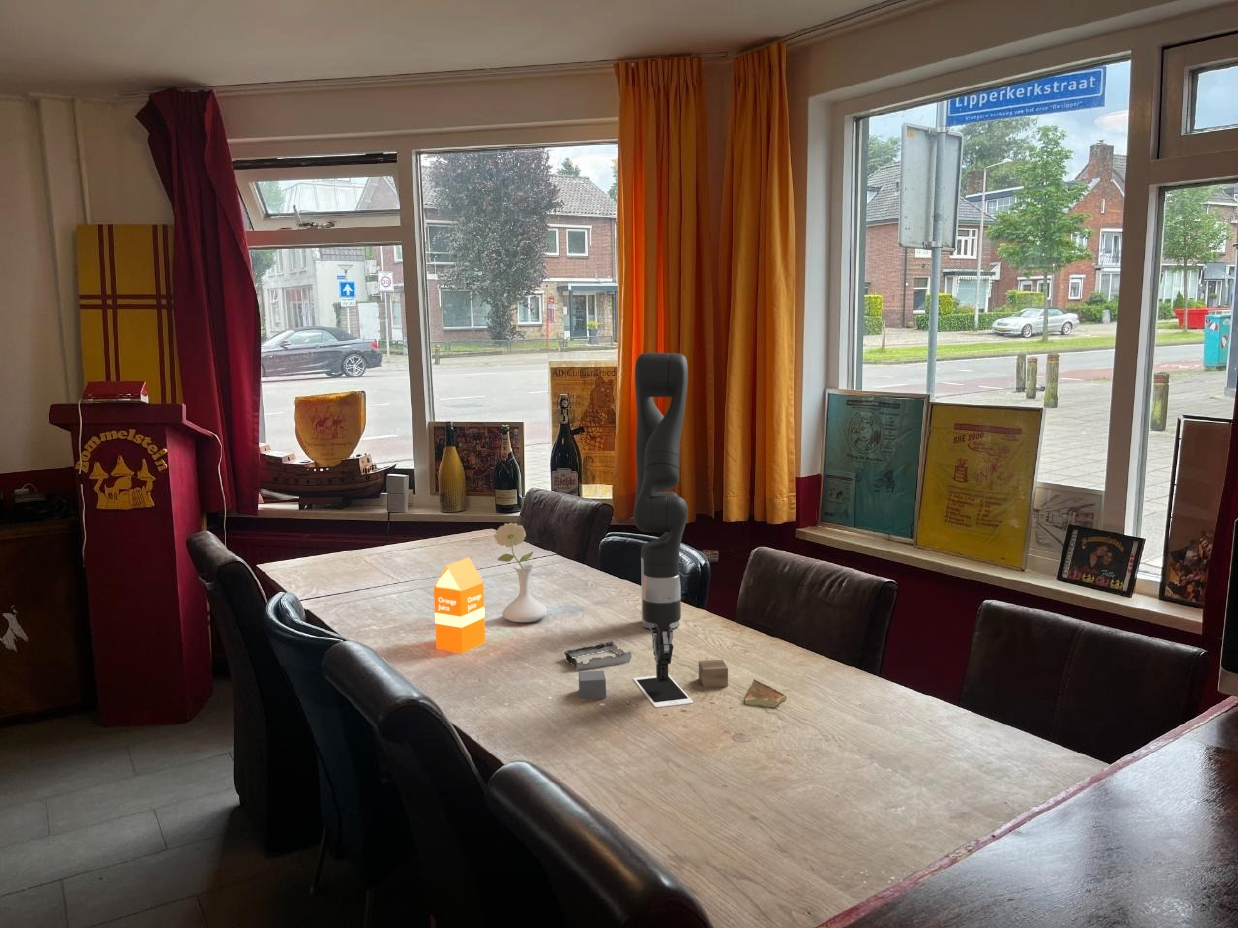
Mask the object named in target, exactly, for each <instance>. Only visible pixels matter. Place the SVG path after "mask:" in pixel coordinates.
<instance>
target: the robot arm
mask: <svg viewBox="0 0 1238 928" xmlns="http://www.w3.org/2000/svg"><path fill="white" fill-rule="evenodd" d="M688 380H689V365H688V361H687V357H686V356H685V355H684V354H682V353H674V352H673V353H671V352H670V353H669V352H644V353H641V354H640V355H638V356H637V358H636V361H635V365H634V385H635V387H634V388H635V389H634V390H635V401H636V432H635V433H636V435H635V441H636V442H635V462H636V485H635V495H634V496H635V499H634V509H633V516H632V517H633V523H634V525H635V527H636V528H637V529H638V530H639V531H640V532H642V533H663V534H662V535H661V536H659V537H657V538H655V539H653V540H651V541H648V542H646V543H644V544H642V546H641V549H640V561H641V562H640V563H641V565H640V568H641V571H640V572H641V575H640V576H641V578H640V579H641V580H640V581H641V626H642V625H643V626H644V627H646V628H645V629H647V628H649V629H648V630H650V635H651V637H652V638H651V639H652V640H651V643H652V649H653V653H652V654H653V655H654V661H655V663H656V664H655V668H656V669H655V672H656V673H655V675H656V679H657V681H658V682H659V683H662V682H668V675H669V665H670V664H671V662H672V656H673V651H674V645H673V642H672V641H673V639H674V629H676V628H675V627H677V626H678V625H679V626H680V620H681V618H682V614H681V612H682V608H681V607H682V606H681V602H682V601H681V600H682V599H681V597H682V596H681V594H682V593H681V591H682V590H681V579H680V551H681V544H682V539H683V534H684V531H685V527H686V525H687V520H688V516H689V508H688V504H687V503H686V501H685V499H683V498H682V497H681V496H679V495H678V494H677V493H676V492H675V491H668V490H670V489H674V488H675V487H677V486H678V484H679V481H680V455H681V453H680V452H681V451H680V450H681V437H682V432H683V431H682V429H683V425H684V424H683V423H684V418H685V412H686V401H687V393H688V385H689V384H688V382H689V381H688ZM653 398H671V400H670V402H669V403H670V404H669V407H668V409H667V411H666V413H665V414H663V413H661V411H660V410H659V408H658V407H657V405H656V403H655V401H654V399H653ZM643 626H642V627H643ZM679 626H678V627H679ZM644 627H643V628H644ZM678 627H677V628H678ZM672 628H674V629H672Z"/></svg>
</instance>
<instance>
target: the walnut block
mask: <svg viewBox="0 0 1238 928" xmlns="http://www.w3.org/2000/svg"><path fill="white" fill-rule="evenodd" d="M698 680H699V682H700V684H701V685H702V688H704V689H707V688H723V687H724V688H727V687H729V668H728V666H727V665H726V662H724V660H723V659H711V660H710V659H709V660H698Z"/></svg>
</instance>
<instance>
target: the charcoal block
mask: <svg viewBox="0 0 1238 928" xmlns="http://www.w3.org/2000/svg"><path fill="white" fill-rule="evenodd" d="M606 684H607V682H606V675H605V672H604V670H589V671H588V670H587V671H578V692H579V693H578V694H579V698H580V701H582V700H583V701H587V700H605V699H607V685H606Z"/></svg>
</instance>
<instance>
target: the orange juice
mask: <svg viewBox="0 0 1238 928" xmlns="http://www.w3.org/2000/svg"><path fill="white" fill-rule="evenodd" d="M438 578H439V579H438V580H437V582H436V584H435V586H433V600H434V602H433V603H434V623H435V645H436V646H435V648H436V649H437V650H442V649H443V650H442V651H449V652H454V653H458V654H464V653H466V652H468V651H470V650H472V649H474V648H476V647H479V646H480V645H483V644H484V643H486V629H485V628H486V625H485V624H486V623H485V615H486V614H485V598H484V597H485V595H484V594H485V593H484V590H485V589H484V581H483V579H482V577H481V575H480V574H479V572H478V570H477V568H476V566H475V565H474V563H473V561H472V559H471V558H470V557H469V556H468V557H465V558H463V559H461V560H458V561H455V562H452V563H449V564H446V565H445V568H444V569H443V571H442V572H441V575H440V577H438Z"/></svg>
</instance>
